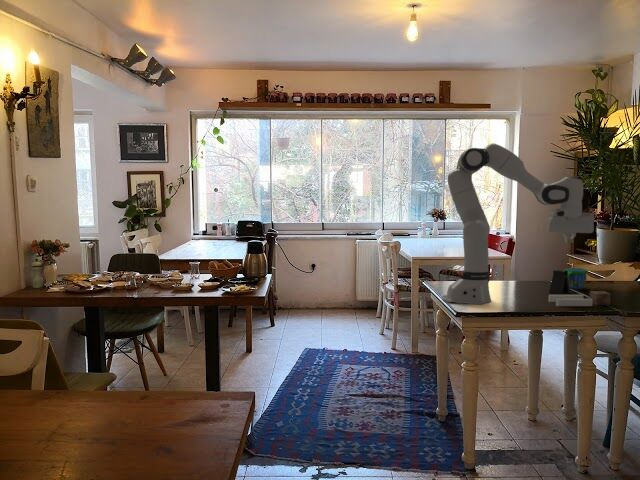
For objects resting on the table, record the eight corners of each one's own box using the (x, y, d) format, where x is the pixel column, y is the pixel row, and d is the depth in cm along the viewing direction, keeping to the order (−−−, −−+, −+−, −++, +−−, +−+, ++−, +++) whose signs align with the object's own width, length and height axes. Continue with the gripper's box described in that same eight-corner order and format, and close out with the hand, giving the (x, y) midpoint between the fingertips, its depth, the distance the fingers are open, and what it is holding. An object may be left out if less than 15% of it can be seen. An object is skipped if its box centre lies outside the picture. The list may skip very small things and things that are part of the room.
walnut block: (596, 304, 225) (596, 293, 225) (589, 301, 231) (590, 291, 231) (609, 304, 225) (610, 293, 225) (603, 301, 231) (603, 291, 231)
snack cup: (573, 291, 260) (574, 272, 259) (556, 288, 269) (557, 269, 268) (594, 288, 266) (595, 269, 265) (577, 285, 276) (577, 266, 275)
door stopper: (559, 295, 252) (560, 271, 250) (548, 293, 257) (549, 269, 256) (570, 293, 256) (571, 269, 255) (559, 291, 261) (560, 268, 260)
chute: (557, 308, 224) (557, 299, 224) (548, 303, 234) (548, 294, 234) (592, 308, 224) (592, 299, 223) (581, 303, 234) (582, 294, 233)
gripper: (591, 212, 235) (588, 242, 237) (545, 211, 237) (544, 241, 238) (597, 213, 229) (595, 243, 231) (551, 212, 230) (549, 242, 232)
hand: (568, 242), depth 235 cm, fingers closed
